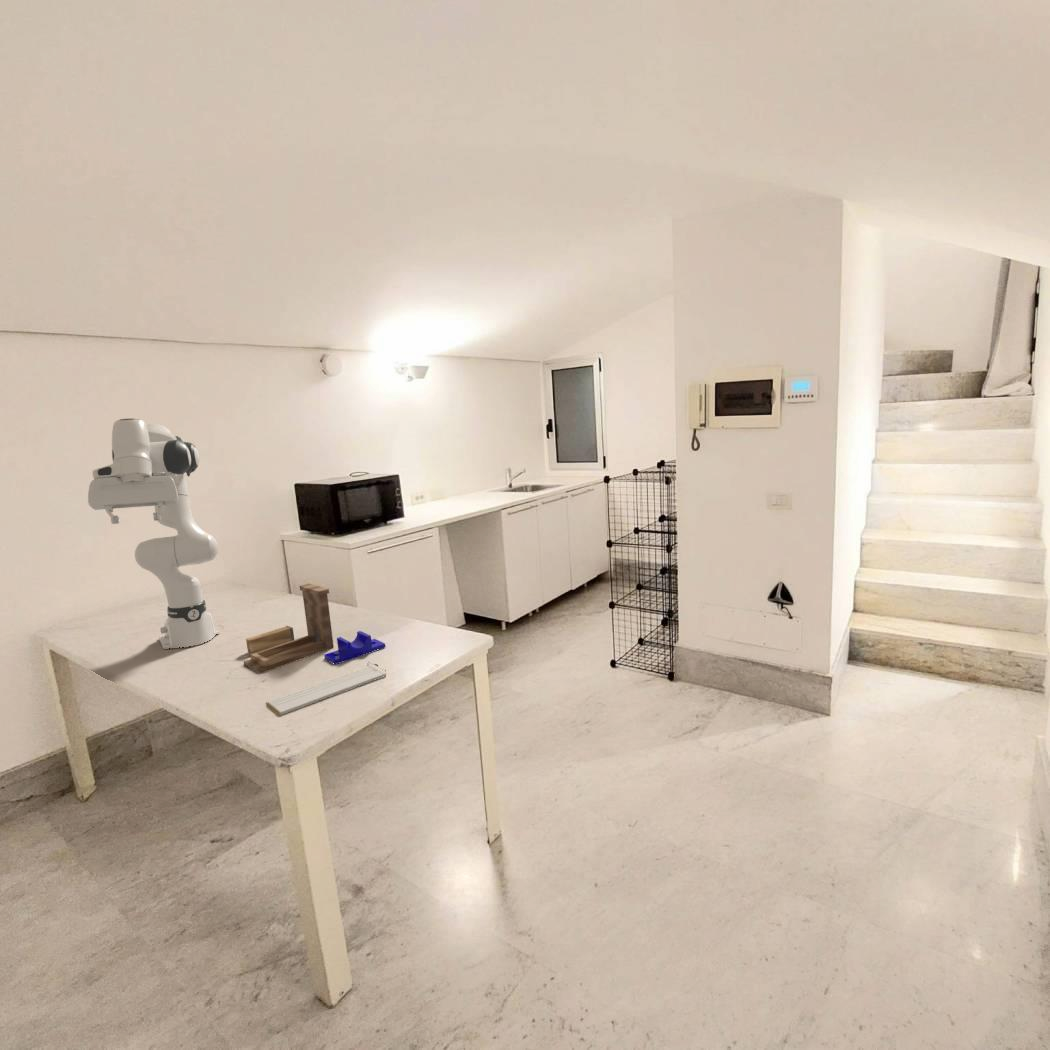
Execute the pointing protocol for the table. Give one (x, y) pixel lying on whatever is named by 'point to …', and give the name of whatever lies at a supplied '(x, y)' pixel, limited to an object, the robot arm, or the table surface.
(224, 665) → the table surface
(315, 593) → the wooden l-shaped stand
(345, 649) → the mounting bracket
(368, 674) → the baseboard molding
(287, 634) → the oak rail piece
